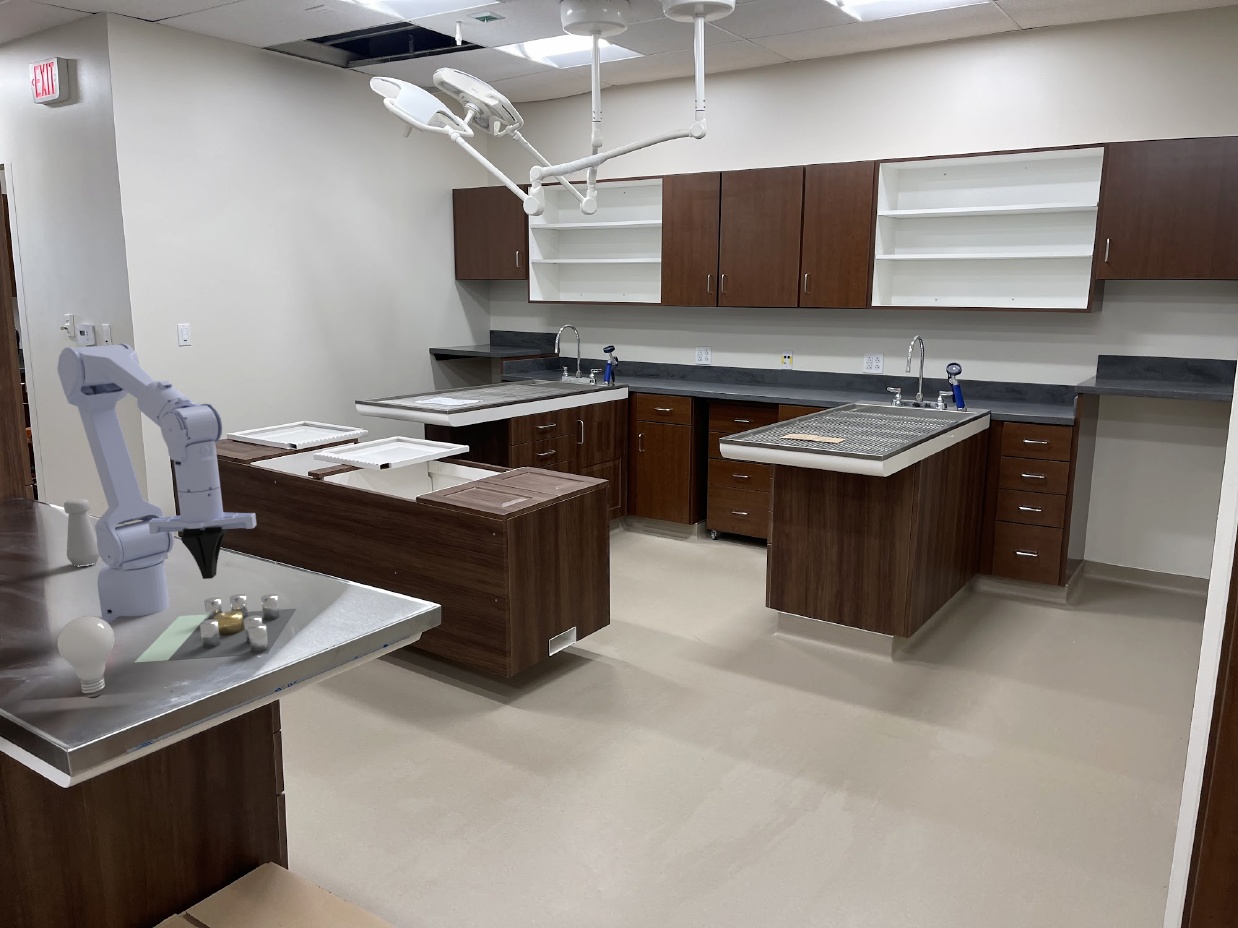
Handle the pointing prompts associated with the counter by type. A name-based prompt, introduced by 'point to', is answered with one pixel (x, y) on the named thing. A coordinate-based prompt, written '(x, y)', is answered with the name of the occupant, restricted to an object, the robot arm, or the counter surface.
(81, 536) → the salt shaker
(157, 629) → the counter surface
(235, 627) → the gold disc
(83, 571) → the counter surface
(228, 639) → the mat
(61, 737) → the counter surface
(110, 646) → the lightbulb
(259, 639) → the spacers
